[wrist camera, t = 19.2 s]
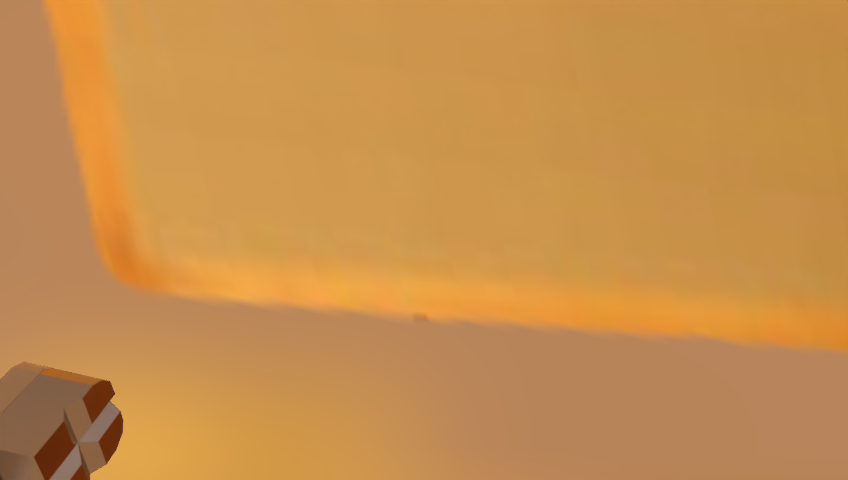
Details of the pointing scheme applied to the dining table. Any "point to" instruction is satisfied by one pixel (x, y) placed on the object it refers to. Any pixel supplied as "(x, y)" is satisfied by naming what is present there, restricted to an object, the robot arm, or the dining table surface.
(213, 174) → the dining table surface
